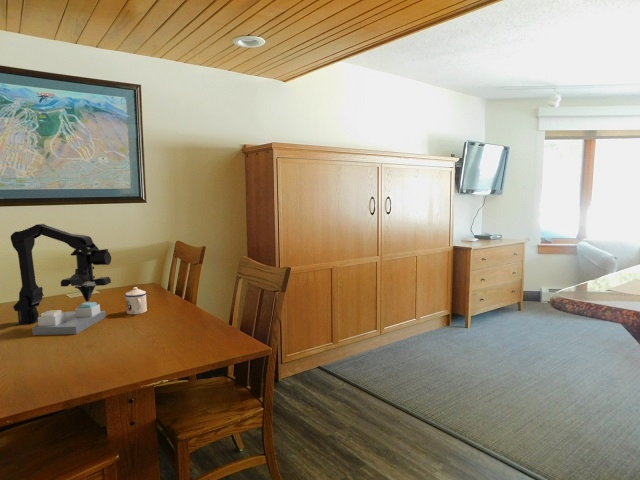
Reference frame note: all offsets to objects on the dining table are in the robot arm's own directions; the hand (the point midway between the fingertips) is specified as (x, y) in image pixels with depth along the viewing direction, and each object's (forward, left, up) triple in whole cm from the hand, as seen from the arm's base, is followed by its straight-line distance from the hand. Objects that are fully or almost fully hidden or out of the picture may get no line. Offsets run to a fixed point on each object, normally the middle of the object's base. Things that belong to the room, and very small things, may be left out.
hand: (87, 301), depth 180 cm
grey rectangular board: (-4, -6, -9) cm, 11 cm away
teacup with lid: (+16, +12, -9) cm, 22 cm away
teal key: (0, 0, -4) cm, 4 cm away
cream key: (-8, -12, -4) cm, 15 cm away
